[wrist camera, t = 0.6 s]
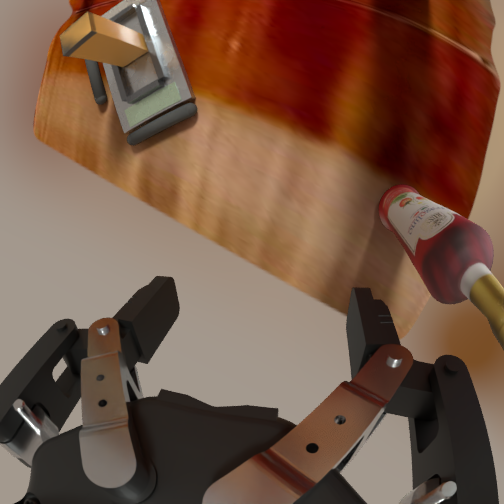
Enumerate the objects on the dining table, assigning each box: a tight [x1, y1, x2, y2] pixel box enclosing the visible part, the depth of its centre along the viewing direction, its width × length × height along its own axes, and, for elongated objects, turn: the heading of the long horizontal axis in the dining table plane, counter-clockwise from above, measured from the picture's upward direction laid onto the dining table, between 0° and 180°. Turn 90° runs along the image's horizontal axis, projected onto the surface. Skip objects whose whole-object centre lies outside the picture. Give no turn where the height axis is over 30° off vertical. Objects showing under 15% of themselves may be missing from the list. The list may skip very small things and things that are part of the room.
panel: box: [101, 0, 195, 133], centre depth 30 cm, size 24×12×3 cm, turn 19°
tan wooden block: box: [60, 11, 148, 67], centre depth 24 cm, size 4×5×13 cm
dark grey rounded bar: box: [127, 103, 197, 145], centre depth 35 cm, size 12×2×2 cm, turn 109°
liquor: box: [379, 184, 504, 350], centre depth 22 cm, size 7×7×28 cm
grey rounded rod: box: [85, 59, 107, 105], centre depth 32 cm, size 16×2×2 cm, turn 19°
